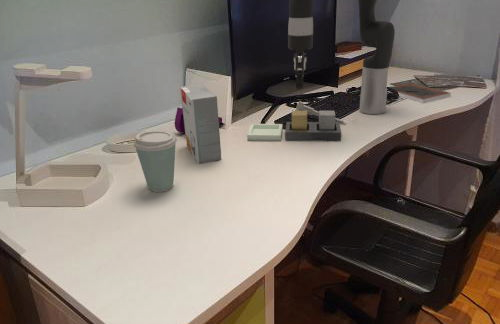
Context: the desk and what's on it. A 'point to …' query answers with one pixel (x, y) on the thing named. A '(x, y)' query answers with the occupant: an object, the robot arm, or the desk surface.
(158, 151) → the disposable coffee cup
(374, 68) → the robot arm
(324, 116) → the grey upright block
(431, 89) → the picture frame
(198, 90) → the hard drive box
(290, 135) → the grey metal frame
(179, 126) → the mounting bracket
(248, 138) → the parts tray
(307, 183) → the desk surface
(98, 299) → the desk surface
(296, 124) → the golden yellow block
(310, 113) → the caliper
